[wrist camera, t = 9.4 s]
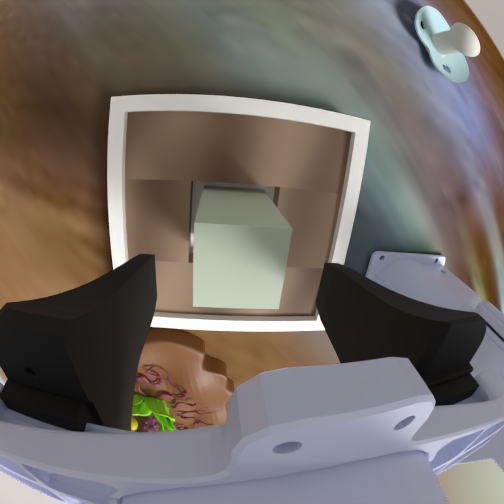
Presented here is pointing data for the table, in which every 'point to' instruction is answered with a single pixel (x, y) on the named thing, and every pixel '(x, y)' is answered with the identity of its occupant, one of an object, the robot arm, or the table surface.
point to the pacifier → (446, 43)
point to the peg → (239, 249)
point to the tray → (242, 107)
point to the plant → (178, 384)
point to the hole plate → (231, 171)
